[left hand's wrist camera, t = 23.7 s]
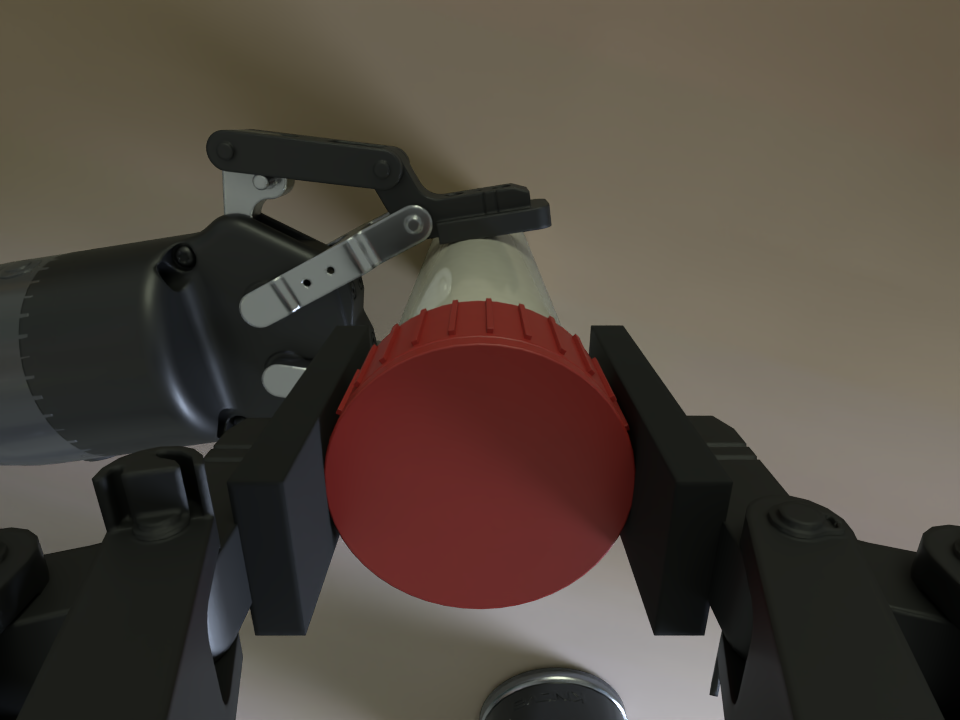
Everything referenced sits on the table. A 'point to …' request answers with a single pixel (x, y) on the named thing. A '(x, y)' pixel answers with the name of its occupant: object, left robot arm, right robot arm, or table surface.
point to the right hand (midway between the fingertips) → (554, 288)
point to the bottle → (480, 275)
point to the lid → (479, 458)
